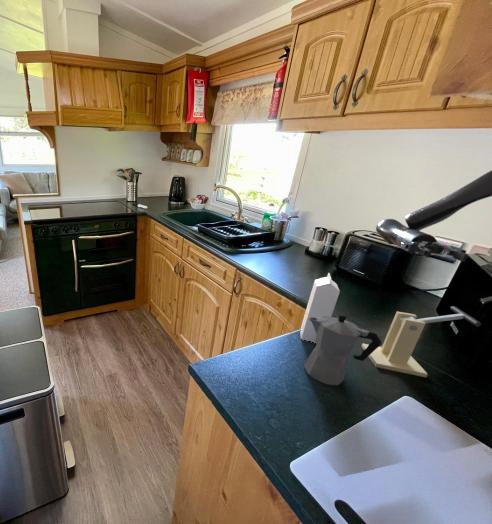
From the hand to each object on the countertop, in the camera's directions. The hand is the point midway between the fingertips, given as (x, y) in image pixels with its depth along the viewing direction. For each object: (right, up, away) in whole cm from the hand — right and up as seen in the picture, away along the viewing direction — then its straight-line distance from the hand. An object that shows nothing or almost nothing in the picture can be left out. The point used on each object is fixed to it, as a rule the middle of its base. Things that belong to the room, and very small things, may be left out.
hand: (447, 255), depth 84 cm
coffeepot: (-40, -32, -7) cm, 52 cm away
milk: (-35, -27, +9) cm, 45 cm away
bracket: (-16, -31, 0) cm, 35 cm away
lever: (-10, -19, -6) cm, 22 cm away
